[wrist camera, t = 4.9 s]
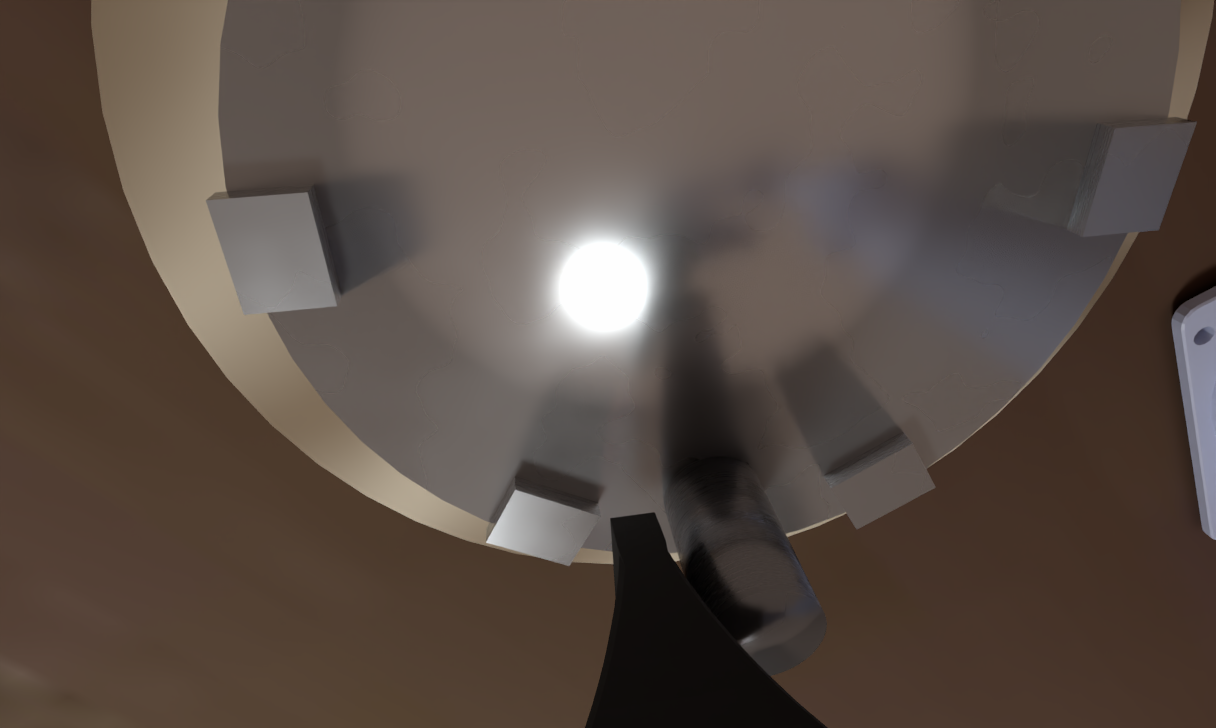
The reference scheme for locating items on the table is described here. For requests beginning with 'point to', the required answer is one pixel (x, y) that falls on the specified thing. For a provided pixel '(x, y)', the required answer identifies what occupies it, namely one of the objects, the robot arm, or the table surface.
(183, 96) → the base plate
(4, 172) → the table surface
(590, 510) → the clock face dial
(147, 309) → the table surface
